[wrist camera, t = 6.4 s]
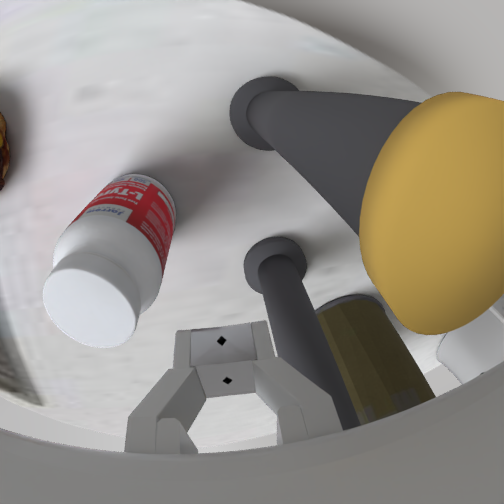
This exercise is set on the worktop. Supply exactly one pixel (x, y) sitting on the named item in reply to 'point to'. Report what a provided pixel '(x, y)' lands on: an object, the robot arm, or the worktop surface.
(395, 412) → the canister
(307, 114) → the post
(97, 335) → the pill bottle
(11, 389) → the worktop surface
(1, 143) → the burger
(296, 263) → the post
